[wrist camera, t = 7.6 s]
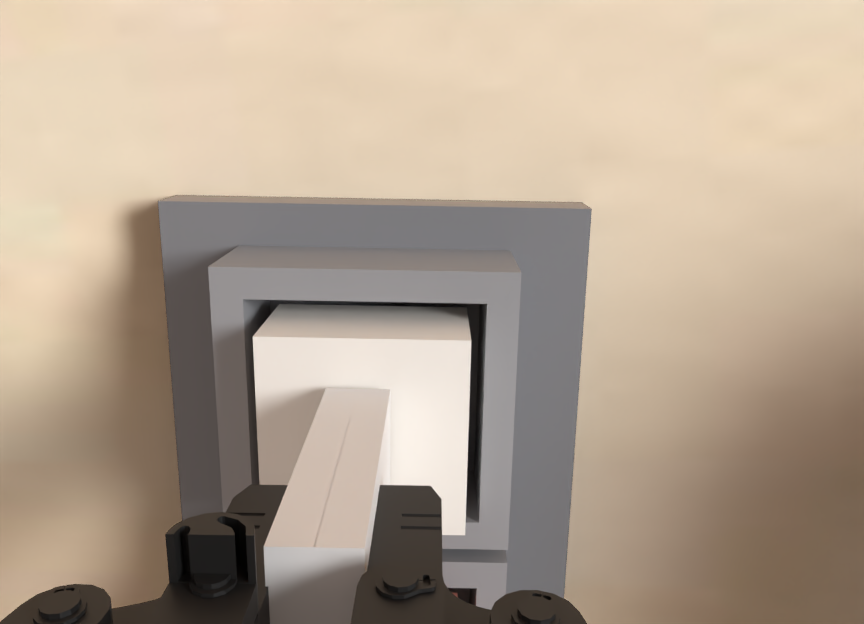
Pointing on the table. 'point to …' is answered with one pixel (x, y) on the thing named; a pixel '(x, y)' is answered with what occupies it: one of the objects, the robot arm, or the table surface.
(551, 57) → the table surface
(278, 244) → the keypad
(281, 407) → the white key
